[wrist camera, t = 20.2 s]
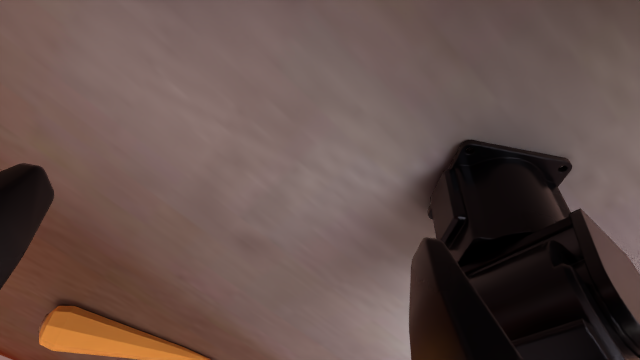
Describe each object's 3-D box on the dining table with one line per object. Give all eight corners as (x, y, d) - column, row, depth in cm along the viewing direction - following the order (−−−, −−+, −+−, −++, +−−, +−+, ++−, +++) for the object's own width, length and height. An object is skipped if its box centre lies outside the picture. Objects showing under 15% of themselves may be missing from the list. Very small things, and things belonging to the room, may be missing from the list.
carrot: (55, 301, 43) (33, 344, 41) (52, 300, 39) (27, 347, 37) (224, 344, 50) (212, 382, 48) (235, 347, 46) (222, 388, 44)
